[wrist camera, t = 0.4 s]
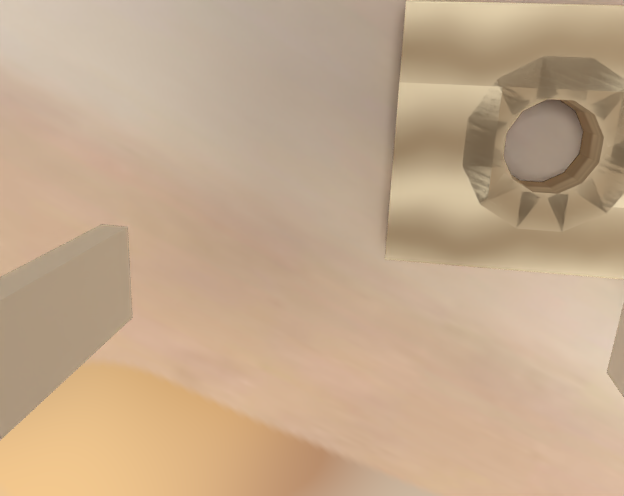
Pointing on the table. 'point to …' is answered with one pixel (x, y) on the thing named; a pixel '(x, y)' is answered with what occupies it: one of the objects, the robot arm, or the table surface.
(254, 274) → the table surface
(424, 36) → the board
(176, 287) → the table surface
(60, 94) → the table surface
